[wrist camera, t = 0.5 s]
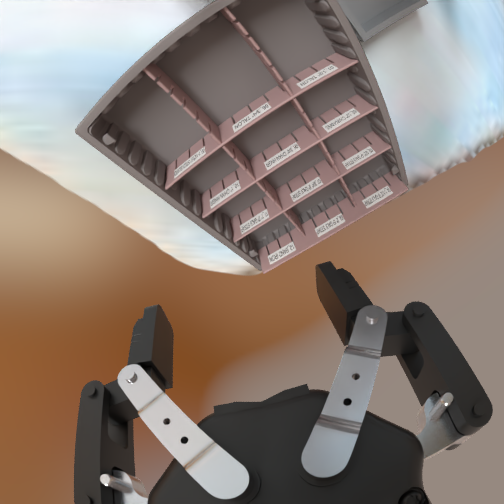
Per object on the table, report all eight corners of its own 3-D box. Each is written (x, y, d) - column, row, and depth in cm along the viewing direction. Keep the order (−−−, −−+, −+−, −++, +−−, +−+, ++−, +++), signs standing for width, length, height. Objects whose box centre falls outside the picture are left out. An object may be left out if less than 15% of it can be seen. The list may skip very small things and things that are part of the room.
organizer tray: (283, -37, 19) (315, -47, 13) (386, 159, 48) (414, 192, 42) (91, 107, 30) (67, 140, 24) (251, 240, 59) (262, 280, 52)
